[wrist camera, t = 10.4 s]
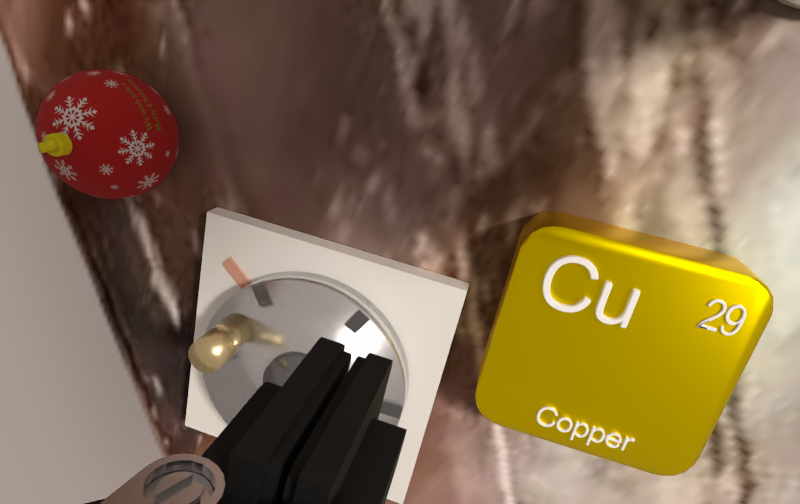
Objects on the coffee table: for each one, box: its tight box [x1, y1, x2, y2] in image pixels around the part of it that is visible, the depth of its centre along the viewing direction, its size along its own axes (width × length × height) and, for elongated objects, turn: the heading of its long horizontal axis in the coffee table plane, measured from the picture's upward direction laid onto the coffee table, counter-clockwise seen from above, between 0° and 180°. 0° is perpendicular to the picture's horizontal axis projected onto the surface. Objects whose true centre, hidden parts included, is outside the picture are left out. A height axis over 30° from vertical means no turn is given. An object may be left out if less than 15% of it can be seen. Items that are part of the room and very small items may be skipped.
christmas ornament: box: [36, 69, 180, 199], centre depth 37 cm, size 9×9×10 cm
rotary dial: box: [188, 271, 409, 426], centre depth 40 cm, size 16×16×6 cm
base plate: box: [185, 207, 470, 504], centre depth 44 cm, size 20×20×2 cm
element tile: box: [475, 211, 773, 476], centre depth 37 cm, size 15×15×5 cm
